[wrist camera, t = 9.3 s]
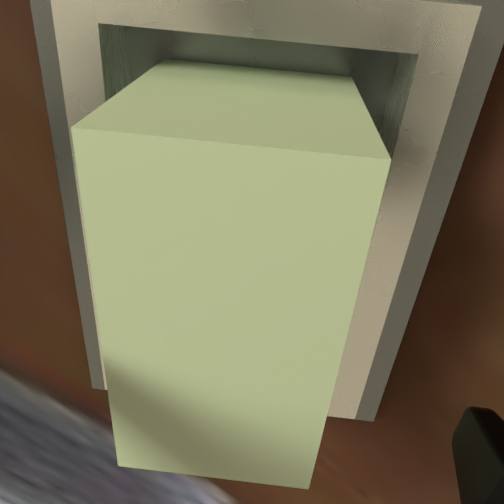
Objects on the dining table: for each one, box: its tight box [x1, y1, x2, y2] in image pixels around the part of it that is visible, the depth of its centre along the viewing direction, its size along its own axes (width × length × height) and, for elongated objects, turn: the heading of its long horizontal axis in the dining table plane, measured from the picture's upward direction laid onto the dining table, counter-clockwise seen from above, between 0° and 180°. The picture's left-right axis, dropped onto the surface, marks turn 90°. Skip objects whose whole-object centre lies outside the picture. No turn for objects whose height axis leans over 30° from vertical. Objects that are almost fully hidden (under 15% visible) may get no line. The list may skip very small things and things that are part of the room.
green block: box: [71, 59, 391, 489], centre depth 12 cm, size 5×9×6 cm, turn 176°
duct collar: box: [30, 0, 504, 422], centre depth 14 cm, size 18×12×2 cm, turn 175°
